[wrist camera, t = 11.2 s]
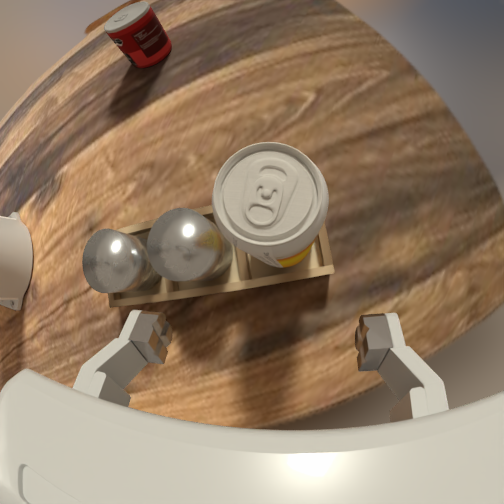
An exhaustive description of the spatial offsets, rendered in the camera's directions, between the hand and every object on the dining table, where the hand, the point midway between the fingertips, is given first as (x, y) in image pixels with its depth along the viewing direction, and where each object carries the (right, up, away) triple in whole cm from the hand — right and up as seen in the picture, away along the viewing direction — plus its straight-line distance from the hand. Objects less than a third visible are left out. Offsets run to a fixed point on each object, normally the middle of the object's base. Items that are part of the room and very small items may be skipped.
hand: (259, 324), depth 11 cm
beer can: (+3, +4, +17) cm, 18 cm away
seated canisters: (-9, +2, +18) cm, 21 cm away
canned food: (-18, +38, +26) cm, 49 cm away
